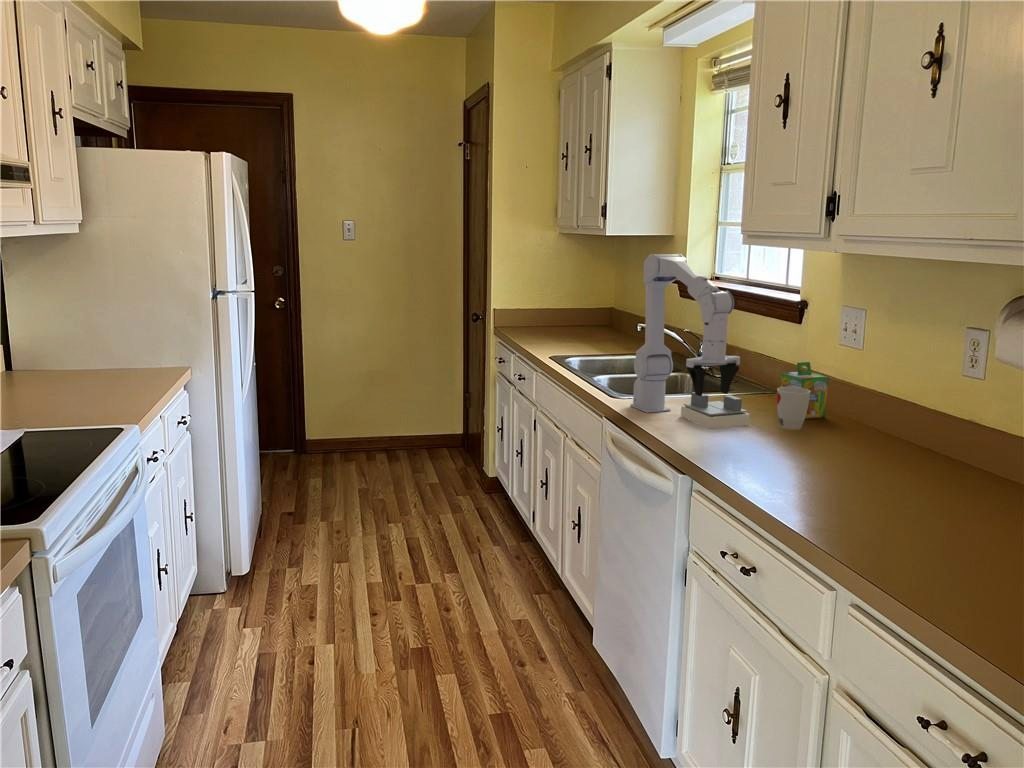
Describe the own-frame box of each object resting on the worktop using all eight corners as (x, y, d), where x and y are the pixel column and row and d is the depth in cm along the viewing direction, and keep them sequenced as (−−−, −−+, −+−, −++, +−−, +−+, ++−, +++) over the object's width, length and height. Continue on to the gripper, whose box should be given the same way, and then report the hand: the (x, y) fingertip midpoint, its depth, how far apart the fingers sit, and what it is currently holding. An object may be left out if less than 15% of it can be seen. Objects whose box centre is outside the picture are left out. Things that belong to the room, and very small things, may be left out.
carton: (680, 416, 221) (681, 406, 220) (717, 413, 225) (718, 402, 224) (710, 428, 208) (711, 417, 207) (749, 425, 212) (749, 414, 211)
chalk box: (800, 420, 218) (804, 366, 215) (777, 413, 226) (781, 361, 223) (826, 417, 221) (831, 364, 218) (803, 410, 229) (807, 359, 226)
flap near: (683, 405, 219) (684, 392, 219) (701, 403, 221) (701, 390, 221) (710, 415, 208) (710, 401, 207) (728, 413, 210) (729, 400, 209)
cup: (779, 422, 216) (782, 385, 214) (810, 426, 211) (814, 389, 209) (770, 428, 209) (773, 390, 207) (802, 432, 205) (805, 394, 203)
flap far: (702, 403, 221) (702, 390, 221) (719, 402, 223) (720, 389, 223) (729, 413, 210) (730, 400, 209) (747, 412, 212) (748, 398, 211)
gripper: (698, 344, 193) (695, 399, 196) (749, 341, 198) (745, 395, 201) (682, 339, 200) (679, 393, 202) (731, 337, 205) (728, 389, 207)
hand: (711, 394), depth 202 cm, fingers open, 7 cm apart
